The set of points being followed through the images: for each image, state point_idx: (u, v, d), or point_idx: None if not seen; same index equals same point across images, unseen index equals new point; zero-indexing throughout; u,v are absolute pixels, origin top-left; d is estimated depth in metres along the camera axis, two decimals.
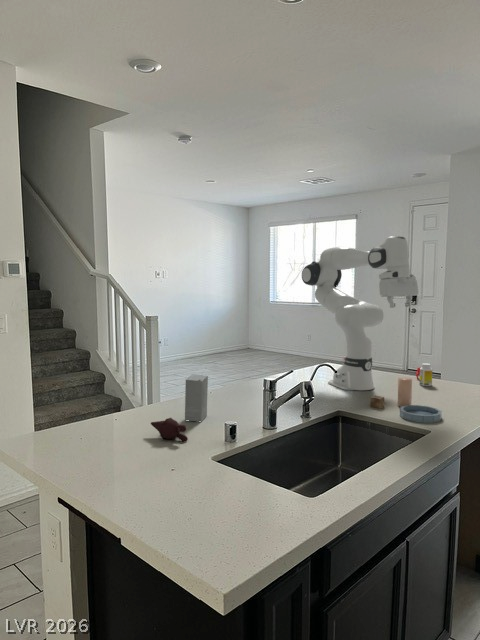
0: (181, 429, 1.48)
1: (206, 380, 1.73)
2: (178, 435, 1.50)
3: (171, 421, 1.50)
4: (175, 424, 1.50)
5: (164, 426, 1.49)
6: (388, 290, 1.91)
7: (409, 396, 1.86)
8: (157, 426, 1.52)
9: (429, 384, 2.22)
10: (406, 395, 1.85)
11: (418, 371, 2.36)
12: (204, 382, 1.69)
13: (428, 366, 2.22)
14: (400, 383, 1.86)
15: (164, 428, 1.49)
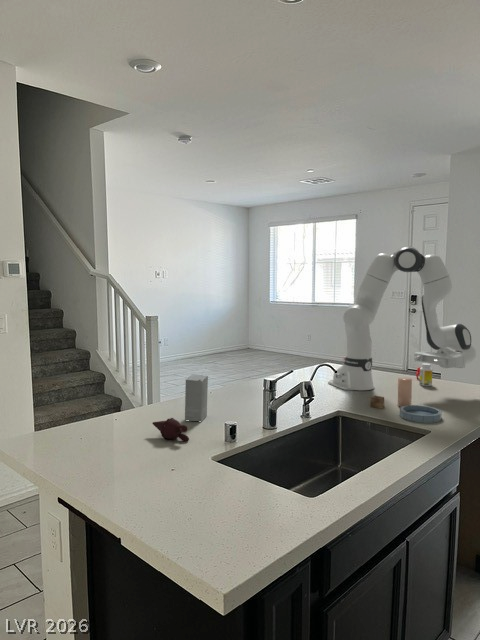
0: (182, 429, 1.47)
1: (206, 380, 1.73)
2: (179, 435, 1.50)
3: (172, 421, 1.50)
4: (176, 424, 1.50)
5: (165, 426, 1.49)
6: None
7: (409, 396, 1.86)
8: (159, 426, 1.52)
9: (429, 384, 2.22)
10: (406, 395, 1.85)
11: (418, 371, 2.36)
12: (204, 382, 1.69)
13: (428, 366, 2.22)
14: (400, 383, 1.86)
15: (165, 428, 1.49)
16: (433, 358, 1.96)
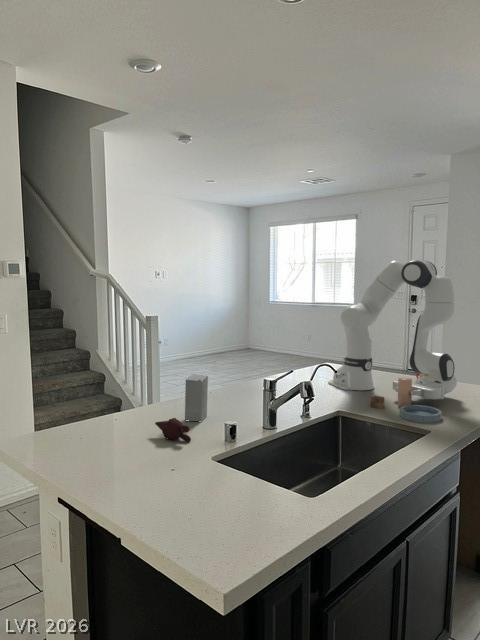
0: (184, 429, 1.47)
1: (206, 380, 1.73)
2: (181, 435, 1.49)
3: (175, 421, 1.50)
4: (178, 424, 1.50)
5: (167, 426, 1.49)
6: None
7: (409, 396, 1.86)
8: (161, 426, 1.52)
9: None
10: (406, 395, 1.85)
11: None
12: (204, 382, 1.69)
13: None
14: (400, 383, 1.86)
15: (167, 428, 1.49)
16: None
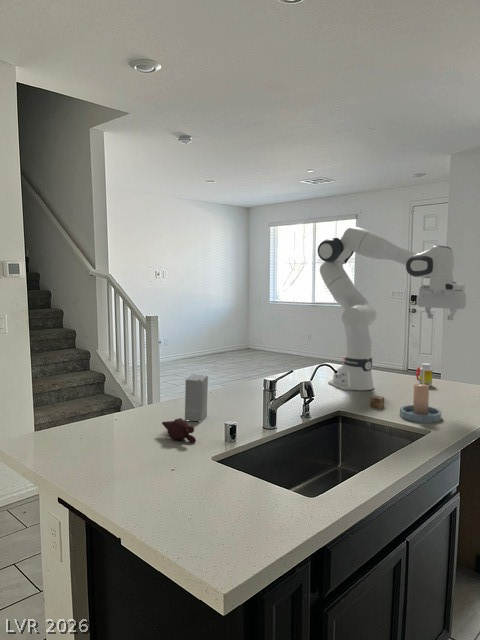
0: (189, 430, 1.47)
1: (206, 380, 1.73)
2: (187, 436, 1.49)
3: (180, 422, 1.50)
4: (184, 425, 1.49)
5: (172, 427, 1.49)
6: None
7: (426, 404, 1.71)
8: (167, 426, 1.52)
9: (429, 384, 2.22)
10: (423, 403, 1.71)
11: (418, 371, 2.36)
12: (204, 382, 1.69)
13: (428, 366, 2.22)
14: (416, 390, 1.72)
15: (173, 428, 1.49)
16: None
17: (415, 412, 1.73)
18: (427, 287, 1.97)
